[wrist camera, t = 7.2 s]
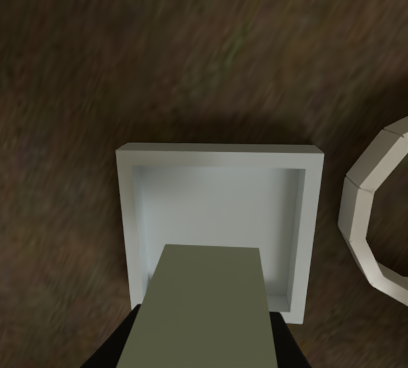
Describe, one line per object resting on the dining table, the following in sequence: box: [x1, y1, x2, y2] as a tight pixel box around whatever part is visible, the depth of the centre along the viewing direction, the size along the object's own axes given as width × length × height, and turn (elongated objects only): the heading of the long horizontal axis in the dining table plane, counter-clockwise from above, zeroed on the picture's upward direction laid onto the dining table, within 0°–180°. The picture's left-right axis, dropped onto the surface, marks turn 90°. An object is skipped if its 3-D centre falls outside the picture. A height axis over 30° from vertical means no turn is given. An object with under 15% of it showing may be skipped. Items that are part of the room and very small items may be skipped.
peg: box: [116, 244, 278, 368], centre depth 10 cm, size 4×4×8 cm
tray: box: [116, 143, 324, 324], centre depth 18 cm, size 11×11×2 cm
